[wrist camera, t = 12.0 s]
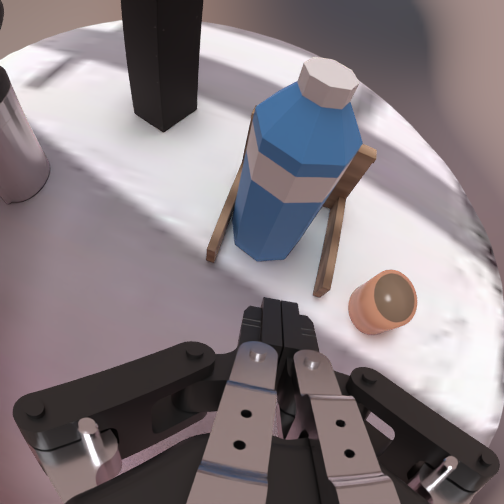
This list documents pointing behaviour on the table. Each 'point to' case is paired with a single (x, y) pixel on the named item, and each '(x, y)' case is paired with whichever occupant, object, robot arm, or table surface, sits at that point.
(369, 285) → the clay pot
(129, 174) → the table surface
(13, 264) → the table surface
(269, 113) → the water bottle
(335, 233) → the brown wooden frame
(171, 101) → the black square pillar
